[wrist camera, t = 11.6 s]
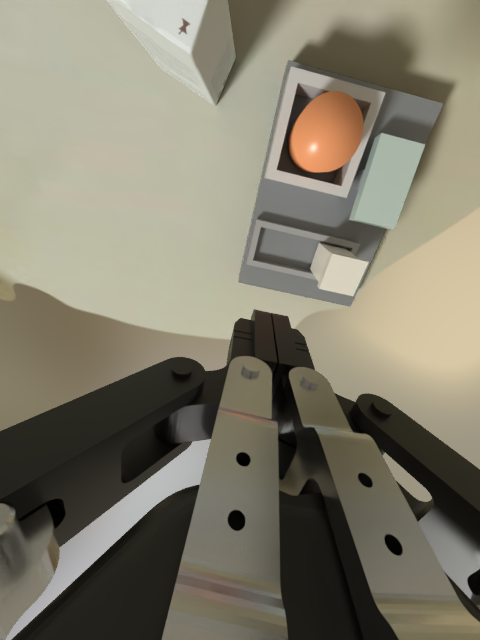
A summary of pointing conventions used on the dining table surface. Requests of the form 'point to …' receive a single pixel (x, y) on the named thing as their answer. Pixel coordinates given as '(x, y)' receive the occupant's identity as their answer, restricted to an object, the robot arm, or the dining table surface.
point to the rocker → (386, 181)
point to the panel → (321, 184)
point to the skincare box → (185, 39)
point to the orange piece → (326, 133)
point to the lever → (337, 269)
